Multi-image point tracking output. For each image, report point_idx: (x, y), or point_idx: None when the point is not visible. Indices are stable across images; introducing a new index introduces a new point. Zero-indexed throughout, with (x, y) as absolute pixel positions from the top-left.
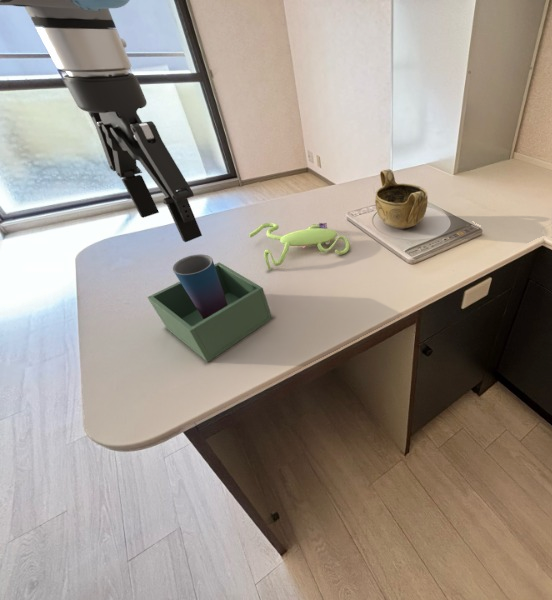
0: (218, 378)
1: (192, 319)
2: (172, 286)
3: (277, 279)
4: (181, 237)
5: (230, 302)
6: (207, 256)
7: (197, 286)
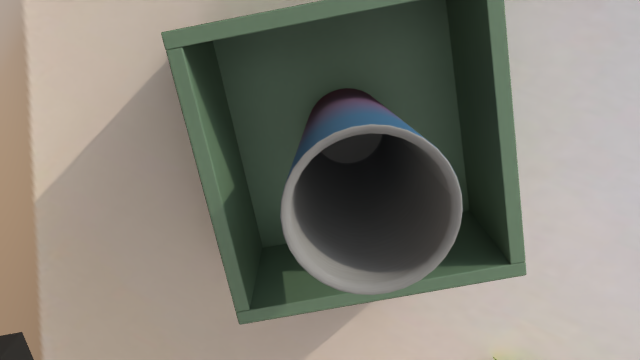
0: (114, 25)
1: (416, 60)
2: (499, 72)
3: (428, 351)
4: (8, 349)
5: None
6: (392, 285)
7: (294, 158)
